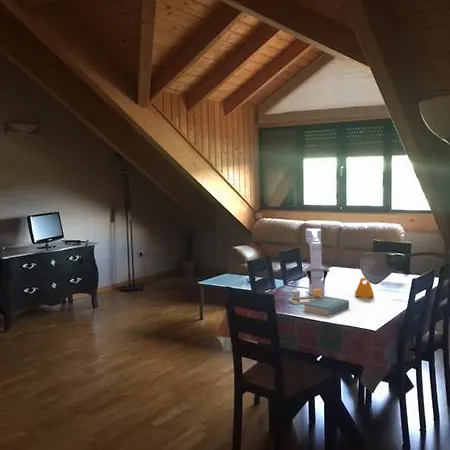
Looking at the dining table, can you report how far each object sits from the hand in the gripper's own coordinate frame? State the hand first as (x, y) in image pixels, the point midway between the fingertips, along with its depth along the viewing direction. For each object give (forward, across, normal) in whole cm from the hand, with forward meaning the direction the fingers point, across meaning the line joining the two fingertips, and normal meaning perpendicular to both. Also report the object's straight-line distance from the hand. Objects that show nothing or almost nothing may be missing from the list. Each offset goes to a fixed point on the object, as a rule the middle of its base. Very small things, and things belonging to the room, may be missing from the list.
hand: (317, 283), depth 329 cm
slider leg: (+8, 0, +4) cm, 9 cm away
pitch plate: (+10, -5, +2) cm, 12 cm away
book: (+19, +5, -14) cm, 24 cm away
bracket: (+4, +28, +19) cm, 35 cm away
